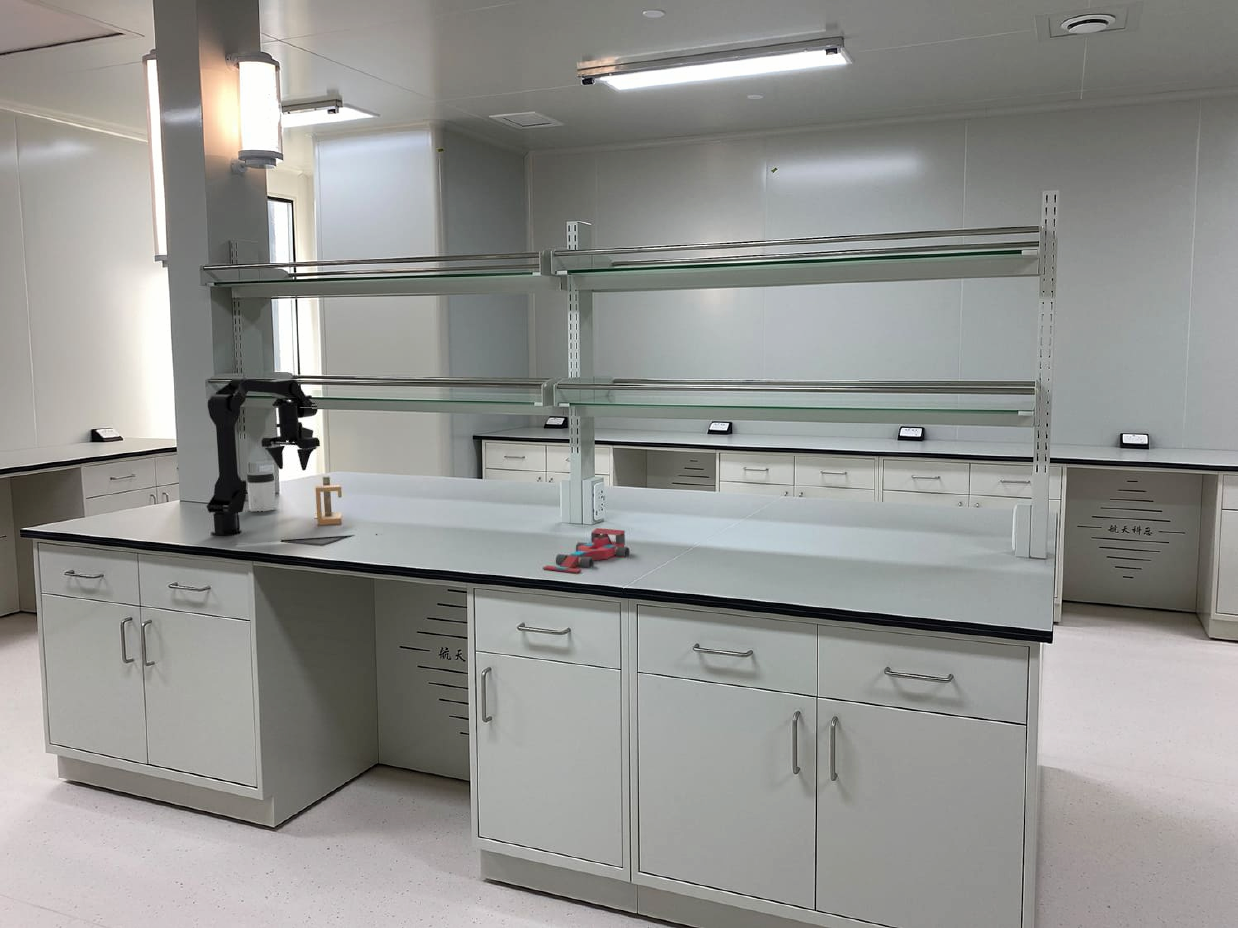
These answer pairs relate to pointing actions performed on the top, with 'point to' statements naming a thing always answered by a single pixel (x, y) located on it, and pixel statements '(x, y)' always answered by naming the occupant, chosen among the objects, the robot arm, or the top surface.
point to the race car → (593, 551)
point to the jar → (261, 491)
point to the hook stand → (328, 501)
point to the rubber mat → (316, 540)
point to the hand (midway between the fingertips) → (292, 469)
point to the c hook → (320, 519)
